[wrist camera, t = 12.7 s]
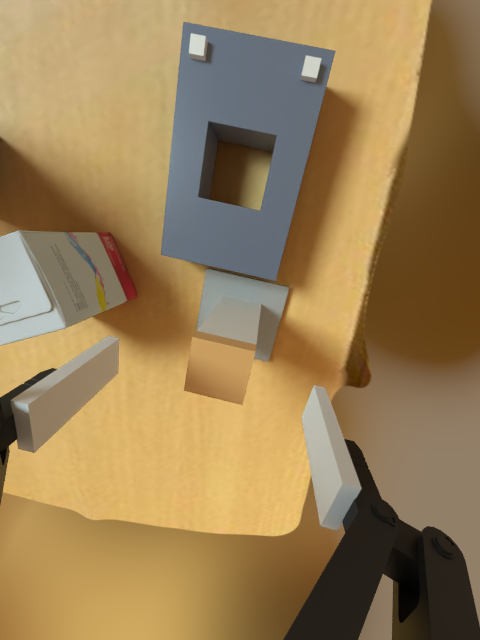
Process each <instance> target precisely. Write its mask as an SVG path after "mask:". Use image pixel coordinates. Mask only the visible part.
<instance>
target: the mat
mask: <svg viewBox="0 0 480 640" xmlns="http://www.w3.org/2000/svg"><path fill="white" fill-rule="evenodd" d="M288 291H289V287H288V286H284V285H280V284H275V283H271V282H267V281H262V280H258V279H253V278H249V277H245V276H240V275H236V274H232V273H227V272H223V271H219V270H214V269H210V268H207V269H206V274H205V280H204V286H203V293H202V299H201V305H200V311H199V317H198V324H197V330H198V328H199V327H200V326H201V325H202V323H203V322H204V321H205V319H206V318H207V317H208V316H209V314H210V313H211V312H212V310H213V309H214V308H215V307H216V305H217V304H218V303H219V301H220V300H221V299H222V298H223V296H224V295H225V296H229V297H233V298H238V299H242V300H247V301H251V302H256V303H260V304H261V310H260V319H259V327H258V335H257V344H256V352H255V356H254V359H259V360H263V361H267V362H269V359H270V355H271V352H272V348H273V345H274V341H275V337H276V334H277V330H278V327H279V323H280V320H281V316H282V313H283V309H284V305H285V302H286V298H287V295H288ZM197 330H196V331H197Z"/></svg>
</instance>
